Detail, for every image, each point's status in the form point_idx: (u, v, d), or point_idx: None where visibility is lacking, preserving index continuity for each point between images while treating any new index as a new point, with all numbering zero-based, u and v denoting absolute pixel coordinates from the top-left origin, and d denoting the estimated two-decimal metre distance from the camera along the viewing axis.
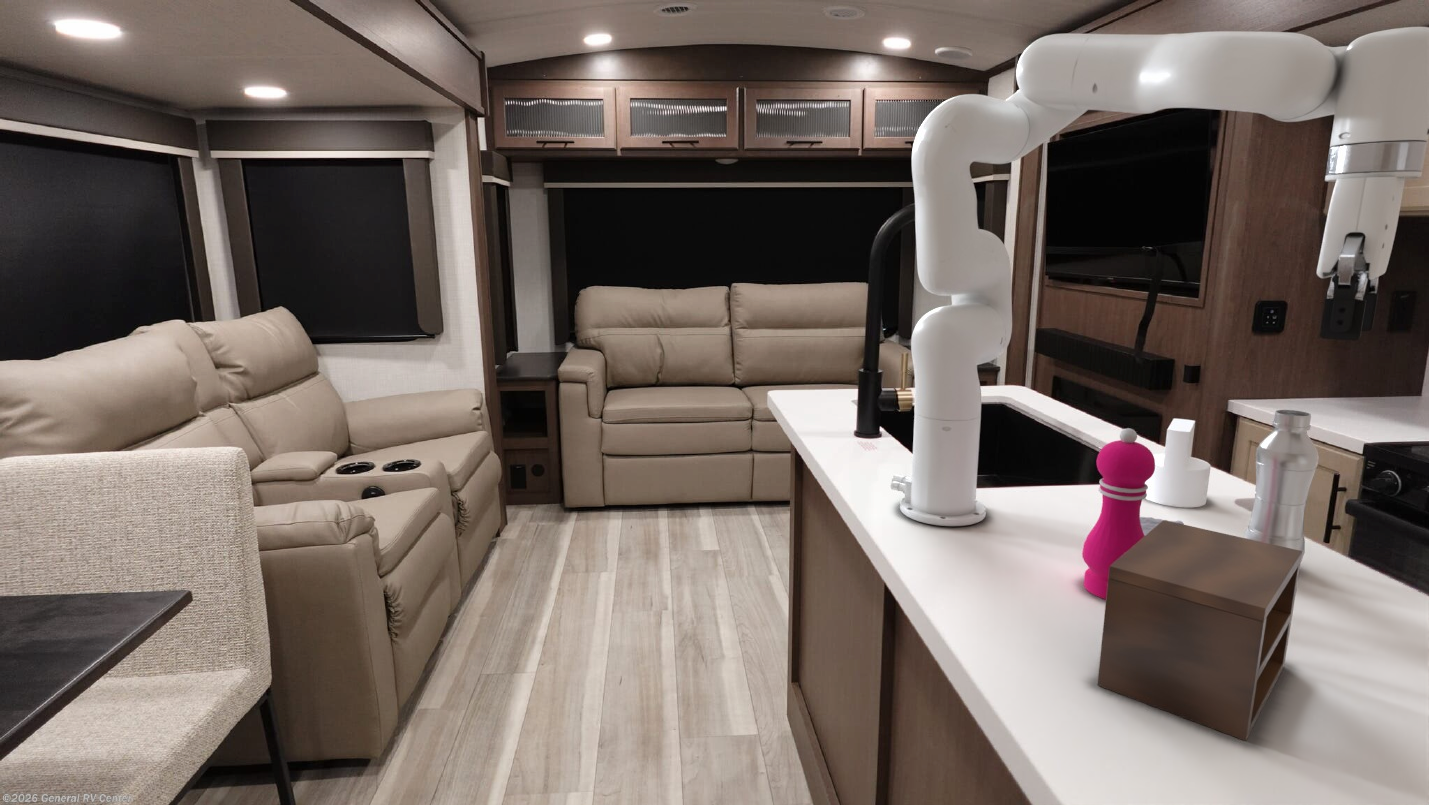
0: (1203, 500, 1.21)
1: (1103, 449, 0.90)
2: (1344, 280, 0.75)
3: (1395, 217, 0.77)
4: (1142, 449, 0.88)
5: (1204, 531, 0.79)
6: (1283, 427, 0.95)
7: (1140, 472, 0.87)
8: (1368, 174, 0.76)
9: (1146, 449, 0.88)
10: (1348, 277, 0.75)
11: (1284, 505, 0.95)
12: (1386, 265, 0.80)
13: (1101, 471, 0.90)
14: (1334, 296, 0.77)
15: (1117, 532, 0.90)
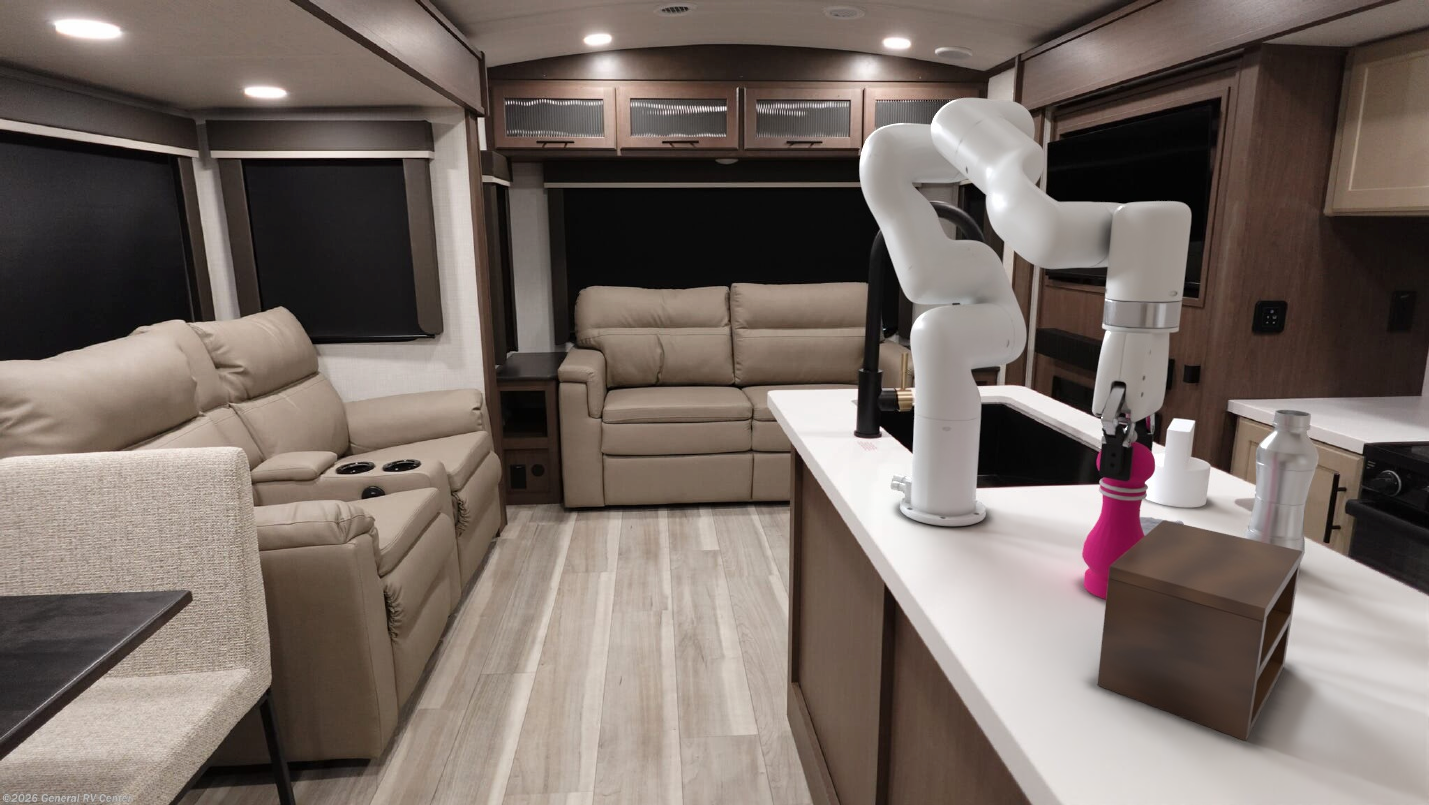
0: (1203, 500, 1.21)
1: None
2: (1110, 433, 0.85)
3: (1156, 366, 0.85)
4: (1143, 449, 0.88)
5: (1204, 531, 0.79)
6: (1283, 427, 0.95)
7: (1141, 472, 0.87)
8: (1129, 329, 0.84)
9: (1146, 449, 0.88)
10: (1113, 429, 0.84)
11: (1284, 505, 0.95)
12: (1157, 404, 0.88)
13: None
14: (1106, 442, 0.87)
15: (1117, 532, 0.90)
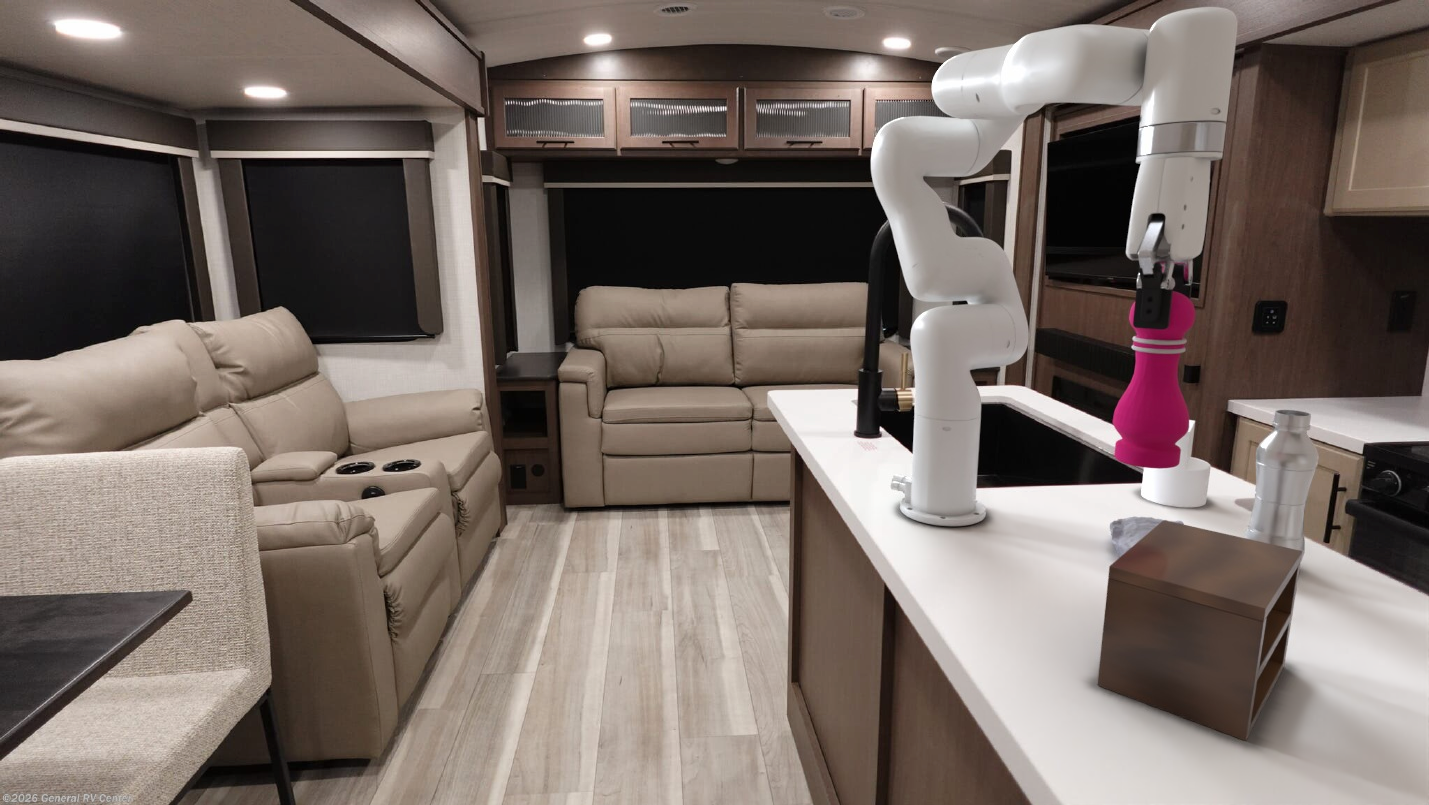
0: (1203, 500, 1.21)
1: None
2: (1147, 271, 0.77)
3: (1197, 198, 0.77)
4: (1181, 295, 0.80)
5: (1204, 531, 0.79)
6: (1283, 427, 0.95)
7: (1180, 320, 0.79)
8: (1168, 155, 0.76)
9: (1185, 296, 0.80)
10: (1150, 266, 0.76)
11: (1284, 505, 0.95)
12: (1197, 247, 0.80)
13: None
14: (1142, 286, 0.78)
15: (1153, 390, 0.81)
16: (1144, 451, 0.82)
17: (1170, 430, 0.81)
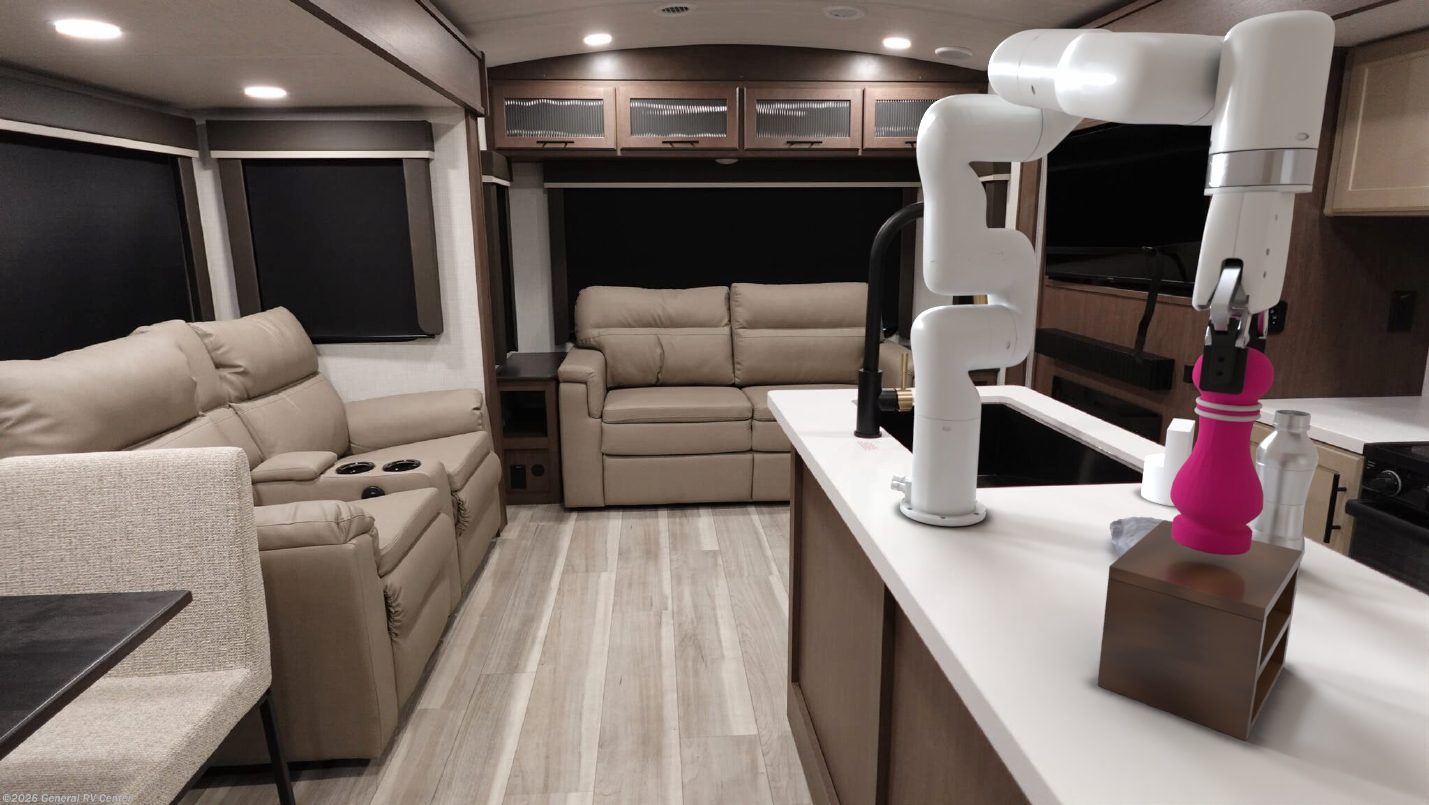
0: None
1: None
2: (1220, 327, 0.64)
3: (1281, 240, 0.64)
4: (1258, 353, 0.67)
5: None
6: (1283, 427, 0.95)
7: (1257, 383, 0.66)
8: (1247, 188, 0.63)
9: (1262, 354, 0.67)
10: (1224, 322, 0.64)
11: (1284, 505, 0.95)
12: (1276, 295, 0.67)
13: None
14: (1212, 343, 0.66)
15: (1222, 464, 0.69)
16: (1210, 534, 0.70)
17: (1243, 511, 0.68)
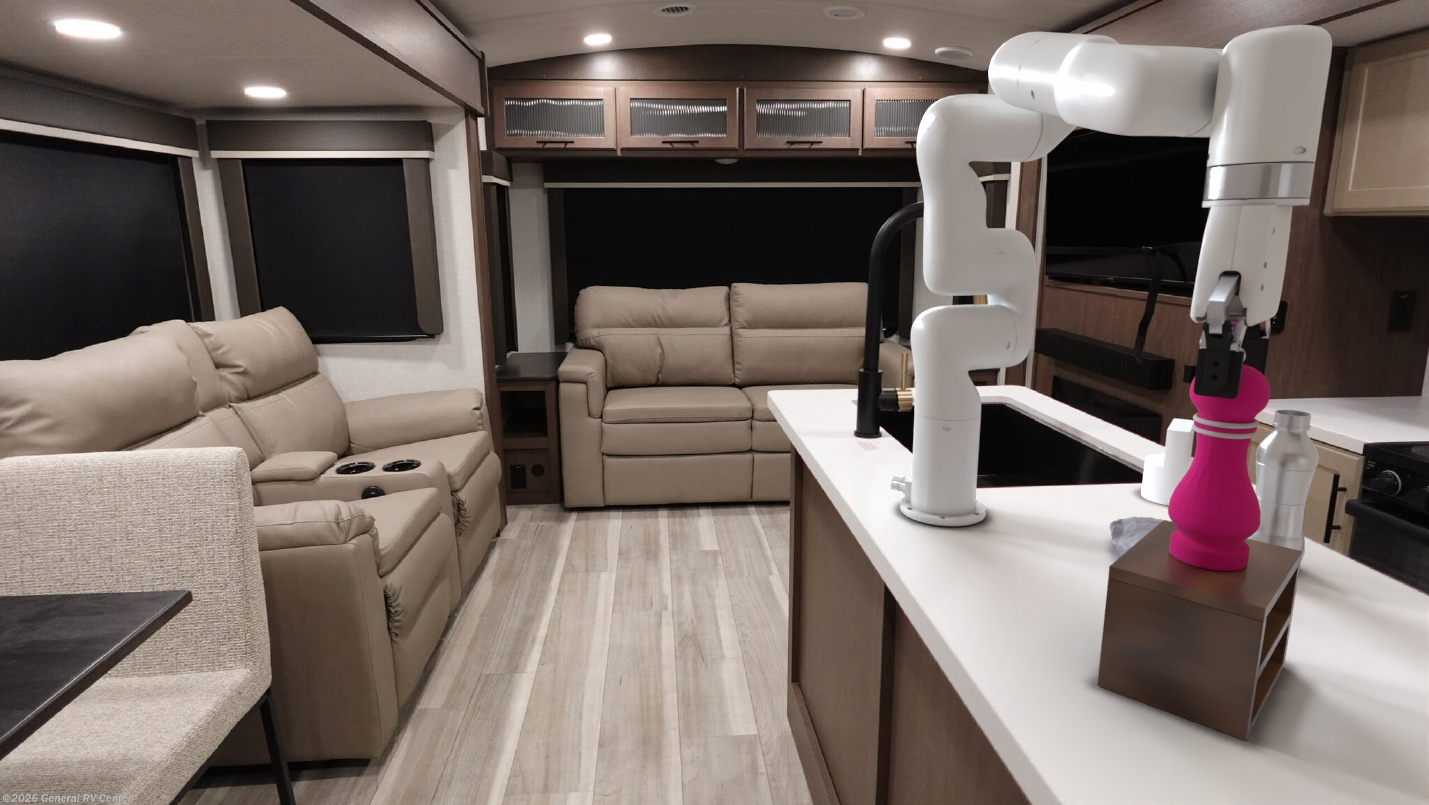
0: None
1: None
2: (1215, 329, 0.63)
3: (1279, 252, 0.64)
4: (1254, 371, 0.68)
5: None
6: (1283, 427, 0.95)
7: (1253, 401, 0.67)
8: (1245, 201, 0.63)
9: (1259, 372, 0.68)
10: (1219, 325, 0.63)
11: (1284, 505, 0.95)
12: (1274, 307, 0.68)
13: (1198, 402, 0.69)
14: (1207, 346, 0.65)
15: (1219, 481, 0.69)
16: (1207, 551, 0.70)
17: (1240, 528, 0.69)
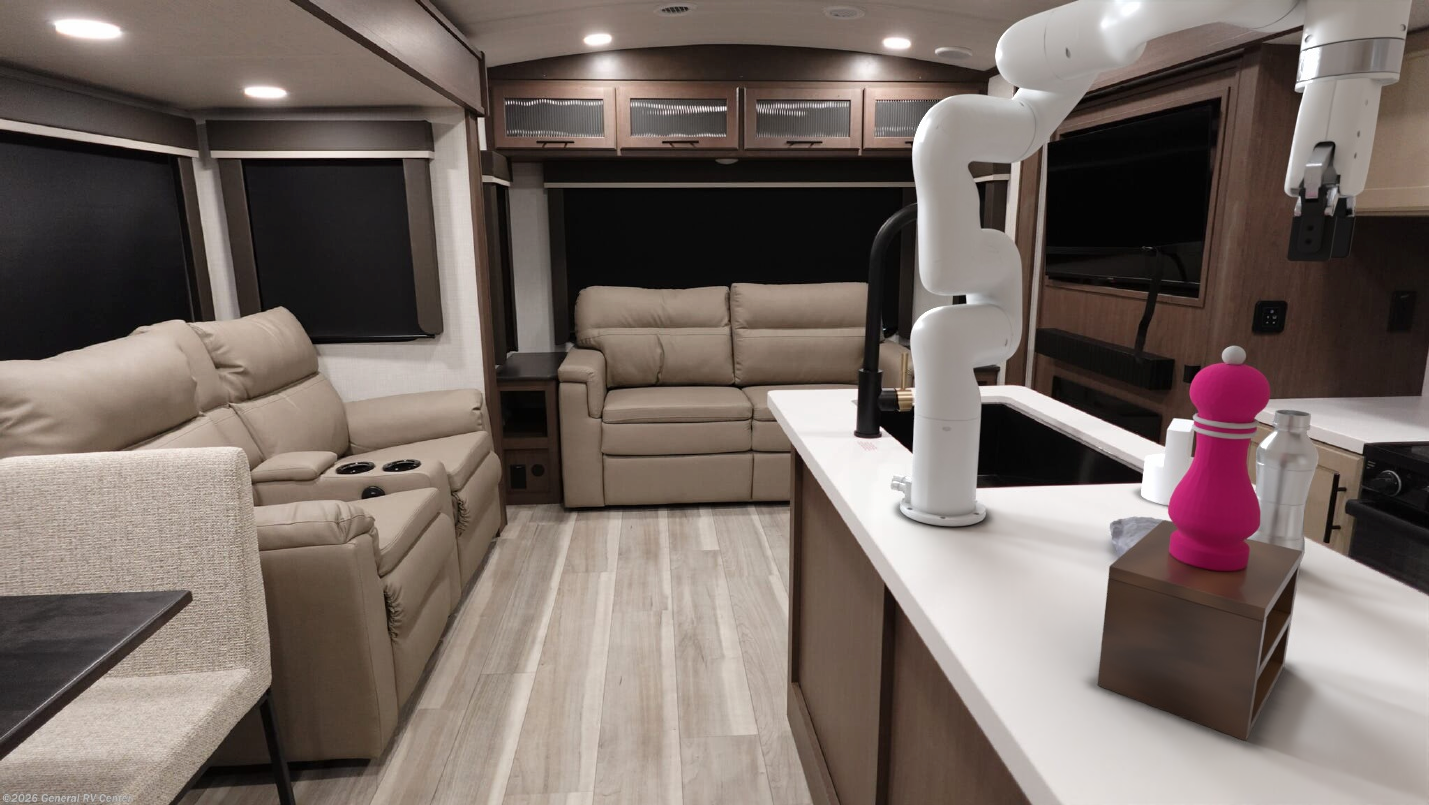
0: None
1: (1200, 374, 0.70)
2: (1311, 193, 0.69)
3: (1370, 125, 0.70)
4: (1254, 371, 0.68)
5: None
6: (1283, 427, 0.95)
7: (1253, 401, 0.67)
8: (1339, 77, 0.69)
9: (1259, 372, 0.68)
10: (1315, 189, 0.68)
11: (1284, 505, 0.95)
12: (1362, 182, 0.73)
13: (1198, 402, 0.70)
14: (1302, 212, 0.71)
15: (1219, 481, 0.69)
16: (1207, 551, 0.70)
17: (1240, 528, 0.69)
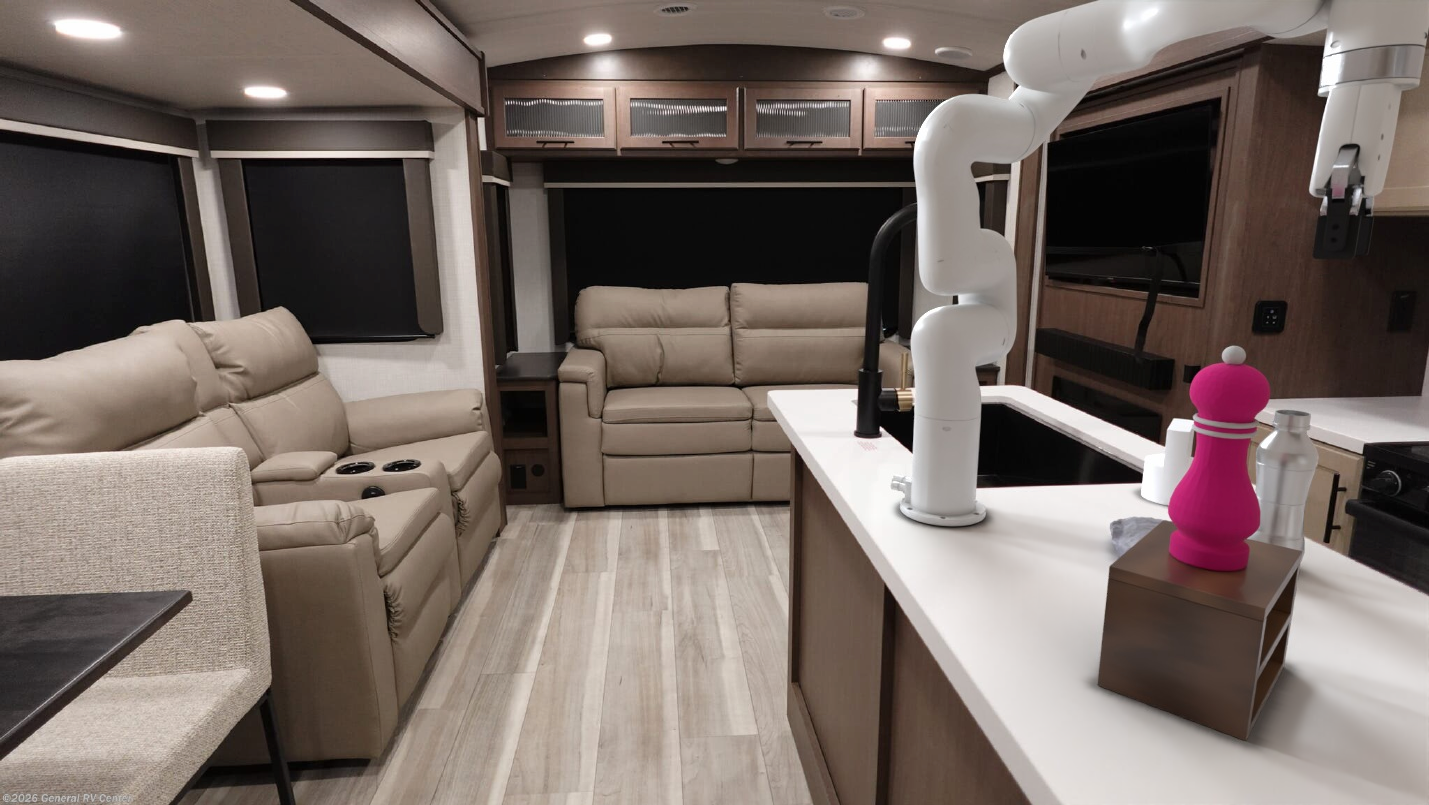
0: None
1: (1200, 374, 0.70)
2: (1338, 193, 0.72)
3: (1392, 128, 0.73)
4: (1254, 371, 0.68)
5: None
6: (1283, 427, 0.95)
7: (1253, 401, 0.67)
8: (1363, 82, 0.72)
9: (1259, 372, 0.68)
10: (1342, 189, 0.71)
11: (1284, 505, 0.95)
12: (1382, 183, 0.76)
13: (1198, 402, 0.70)
14: (1327, 212, 0.73)
15: (1219, 481, 0.69)
16: (1207, 551, 0.70)
17: (1240, 528, 0.69)
